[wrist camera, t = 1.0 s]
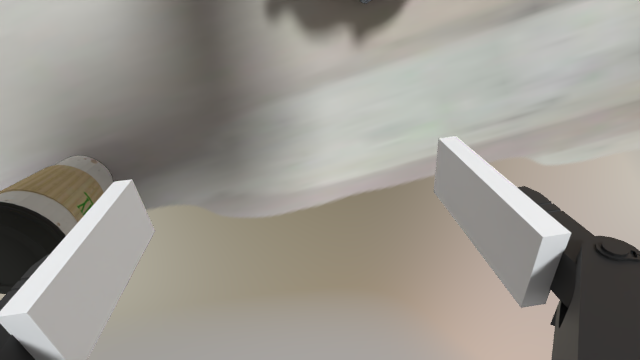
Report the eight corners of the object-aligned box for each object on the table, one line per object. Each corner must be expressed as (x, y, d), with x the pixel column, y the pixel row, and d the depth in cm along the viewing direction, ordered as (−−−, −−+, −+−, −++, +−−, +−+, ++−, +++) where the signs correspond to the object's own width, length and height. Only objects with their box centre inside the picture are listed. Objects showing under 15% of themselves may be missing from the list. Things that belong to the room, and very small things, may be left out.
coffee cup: (82, 220, 45) (1, 312, 32) (22, 161, 40) (-103, 242, 27) (144, 192, 44) (86, 276, 31) (90, 128, 39) (-6, 196, 26)
